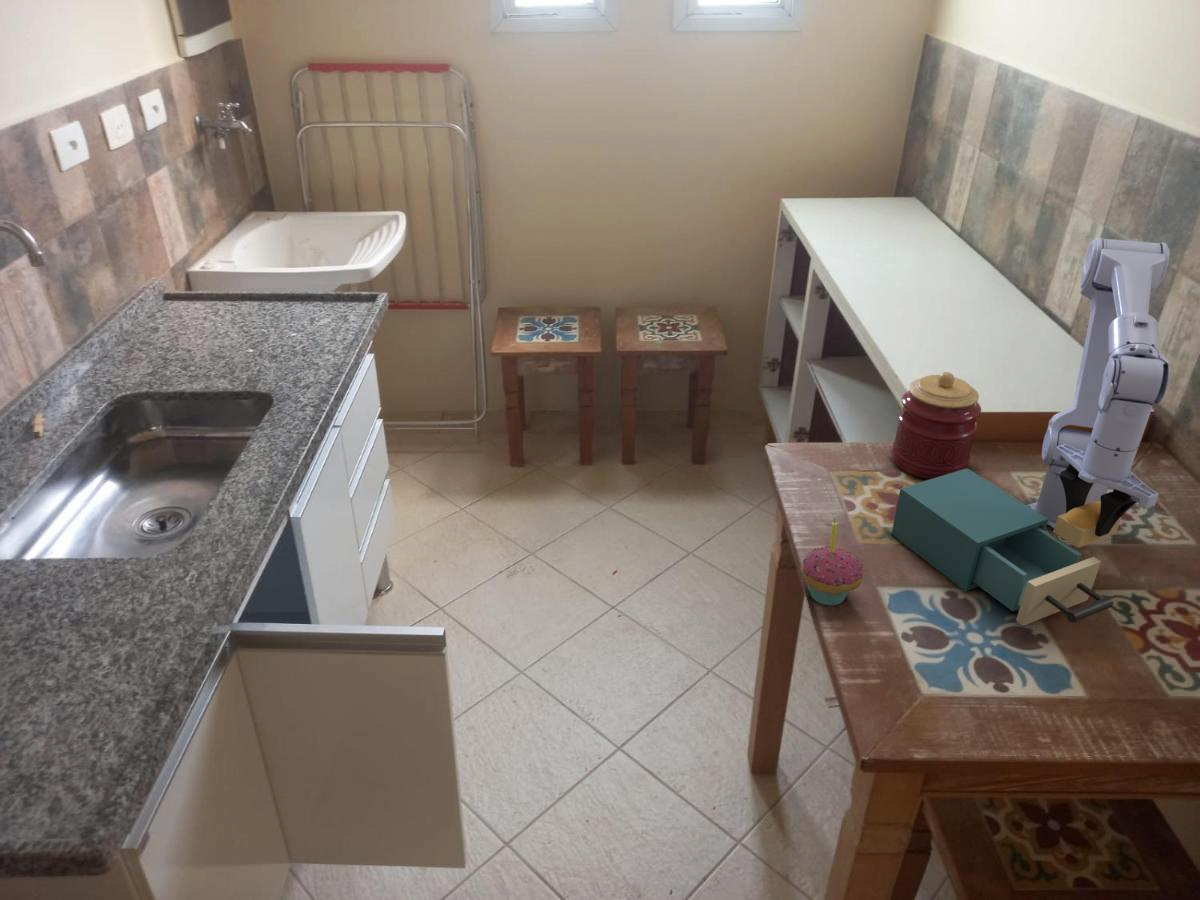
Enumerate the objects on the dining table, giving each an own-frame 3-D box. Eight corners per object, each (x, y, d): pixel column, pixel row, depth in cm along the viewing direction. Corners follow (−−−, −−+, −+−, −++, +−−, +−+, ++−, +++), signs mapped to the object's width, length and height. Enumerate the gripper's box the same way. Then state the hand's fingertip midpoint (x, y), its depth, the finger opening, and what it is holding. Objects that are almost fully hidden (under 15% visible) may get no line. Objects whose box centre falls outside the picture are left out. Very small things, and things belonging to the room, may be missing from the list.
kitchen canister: (956, 489, 149) (978, 396, 140) (881, 468, 155) (897, 378, 146) (975, 456, 158) (996, 367, 149) (903, 437, 164) (919, 351, 155)
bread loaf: (1090, 518, 127) (1098, 492, 125) (1115, 534, 124) (1125, 507, 122) (1052, 532, 124) (1060, 505, 122) (1077, 548, 121) (1086, 521, 119)
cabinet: (1034, 566, 130) (1048, 518, 126) (965, 591, 126) (978, 543, 121) (956, 513, 143) (967, 468, 138) (891, 534, 138) (900, 488, 133)
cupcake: (790, 578, 129) (799, 510, 122) (847, 574, 129) (859, 507, 123) (807, 617, 121) (818, 547, 115) (867, 613, 122) (881, 543, 116)
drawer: (1118, 621, 118) (1133, 582, 115) (1052, 649, 114) (1066, 608, 111) (1006, 544, 134) (1016, 507, 130) (944, 566, 129) (953, 528, 126)
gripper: (1047, 423, 121) (1024, 505, 128) (1143, 473, 109) (1112, 560, 116) (1083, 413, 123) (1059, 494, 130) (1181, 461, 112) (1148, 546, 119)
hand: (1086, 524), depth 123 cm, fingers closed on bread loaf, 4 cm apart
